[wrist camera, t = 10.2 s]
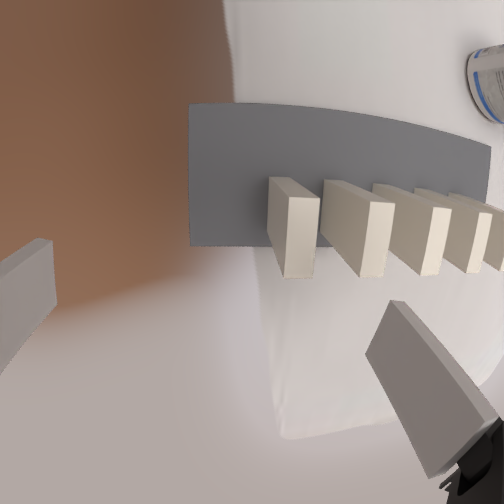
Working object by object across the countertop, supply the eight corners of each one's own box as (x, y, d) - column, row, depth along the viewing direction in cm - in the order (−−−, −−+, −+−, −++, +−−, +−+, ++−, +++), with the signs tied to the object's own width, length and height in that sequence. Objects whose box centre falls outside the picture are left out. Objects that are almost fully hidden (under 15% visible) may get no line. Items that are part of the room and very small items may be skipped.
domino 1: (269, 176, 26) (289, 197, 17) (289, 177, 26) (320, 198, 17) (266, 230, 28) (283, 278, 18) (286, 231, 28) (312, 278, 18)
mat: (189, 104, 24) (188, 103, 23) (489, 146, 26) (491, 146, 25) (190, 244, 28) (190, 246, 28) (474, 247, 30) (476, 248, 30)
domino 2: (324, 179, 26) (370, 201, 17) (342, 180, 26) (395, 203, 17) (319, 231, 28) (359, 277, 19) (337, 232, 28) (383, 277, 19)
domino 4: (414, 187, 27) (479, 212, 18) (427, 189, 27) (492, 214, 18) (407, 234, 29) (465, 273, 19) (420, 234, 29) (479, 272, 19)
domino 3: (373, 183, 27) (433, 206, 17) (388, 184, 27) (451, 209, 17) (367, 232, 28) (419, 275, 19) (382, 233, 28) (438, 274, 19)
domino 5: (448, 192, 27) (512, 217, 18) (459, 194, 27) (522, 218, 18) (441, 235, 29) (499, 271, 20) (452, 236, 29) (509, 270, 20)
